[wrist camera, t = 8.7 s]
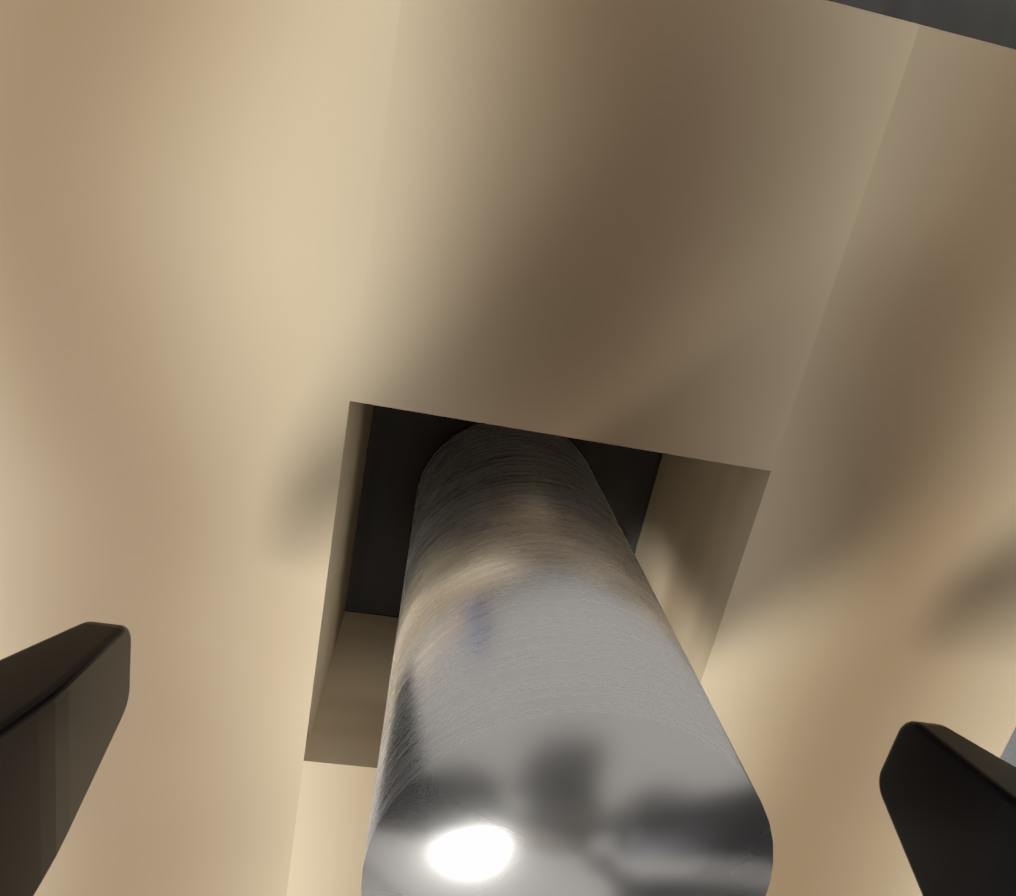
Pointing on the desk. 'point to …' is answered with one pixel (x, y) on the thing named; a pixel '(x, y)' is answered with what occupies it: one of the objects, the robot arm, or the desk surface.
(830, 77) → the bore block
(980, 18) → the desk surface
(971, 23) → the desk surface
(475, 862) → the long pin
